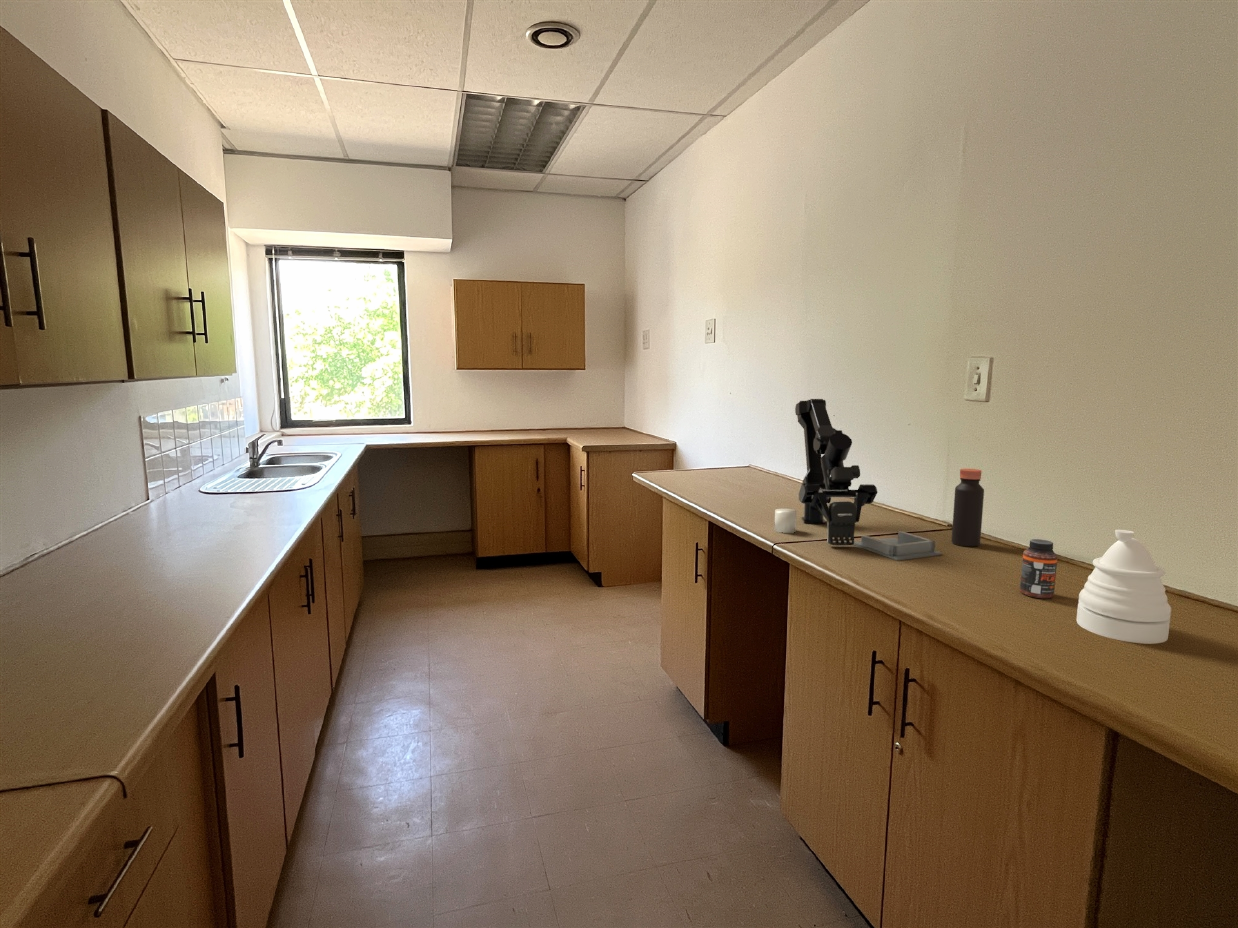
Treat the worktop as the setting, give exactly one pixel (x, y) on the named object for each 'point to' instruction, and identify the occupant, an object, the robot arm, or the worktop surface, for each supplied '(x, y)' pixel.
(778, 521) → the white rounded cube
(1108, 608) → the honey pot
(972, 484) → the vinegar
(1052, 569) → the supplement bottle
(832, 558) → the worktop surface
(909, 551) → the tray
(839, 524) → the battery charger
